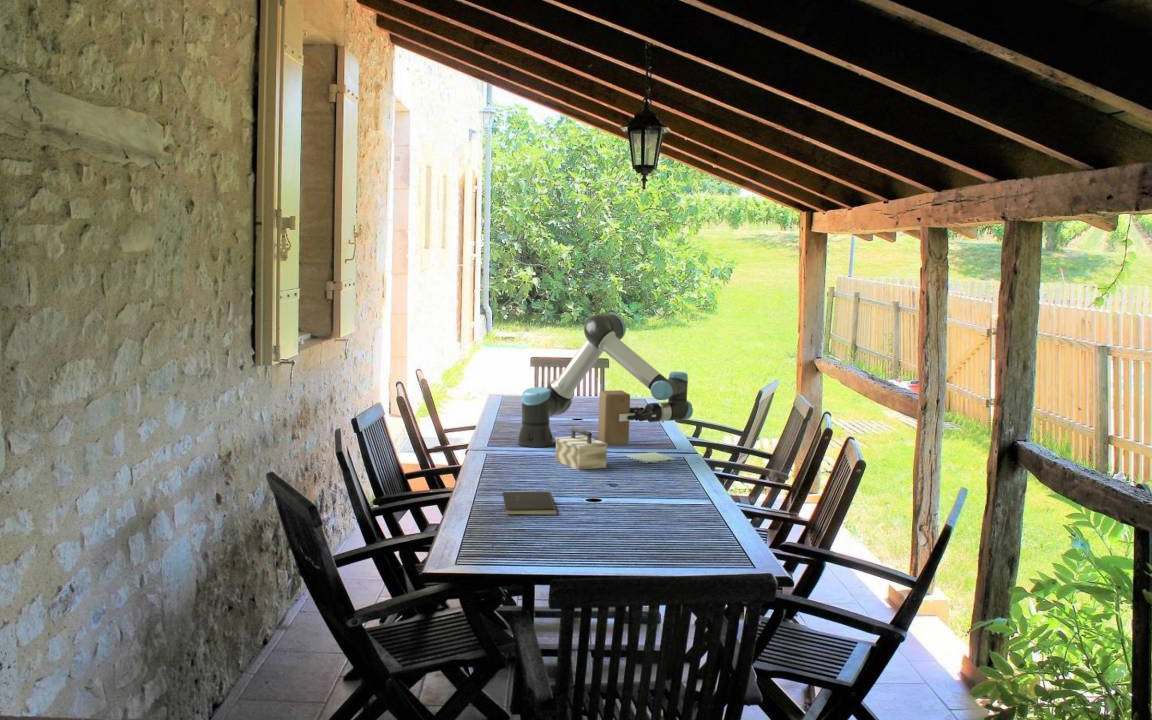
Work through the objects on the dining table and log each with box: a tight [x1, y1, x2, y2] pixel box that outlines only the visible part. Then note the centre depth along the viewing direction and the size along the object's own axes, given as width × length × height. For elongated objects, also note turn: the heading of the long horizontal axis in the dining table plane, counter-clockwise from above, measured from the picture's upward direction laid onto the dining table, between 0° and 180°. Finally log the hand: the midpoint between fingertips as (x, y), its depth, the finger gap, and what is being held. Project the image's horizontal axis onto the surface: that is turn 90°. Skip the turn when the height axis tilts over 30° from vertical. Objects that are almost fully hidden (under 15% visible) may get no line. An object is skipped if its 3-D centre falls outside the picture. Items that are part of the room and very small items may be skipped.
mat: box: [625, 451, 676, 464], centre depth 400 cm, size 14×14×1 cm
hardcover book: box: [502, 491, 558, 515], centre depth 322 cm, size 16×23×2 cm
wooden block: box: [597, 390, 631, 446], centre depth 391 cm, size 10×10×20 cm
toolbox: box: [554, 426, 609, 471], centre depth 386 cm, size 18×13×13 cm
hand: (610, 415), depth 390 cm, fingers closed on wooden block, 12 cm apart
